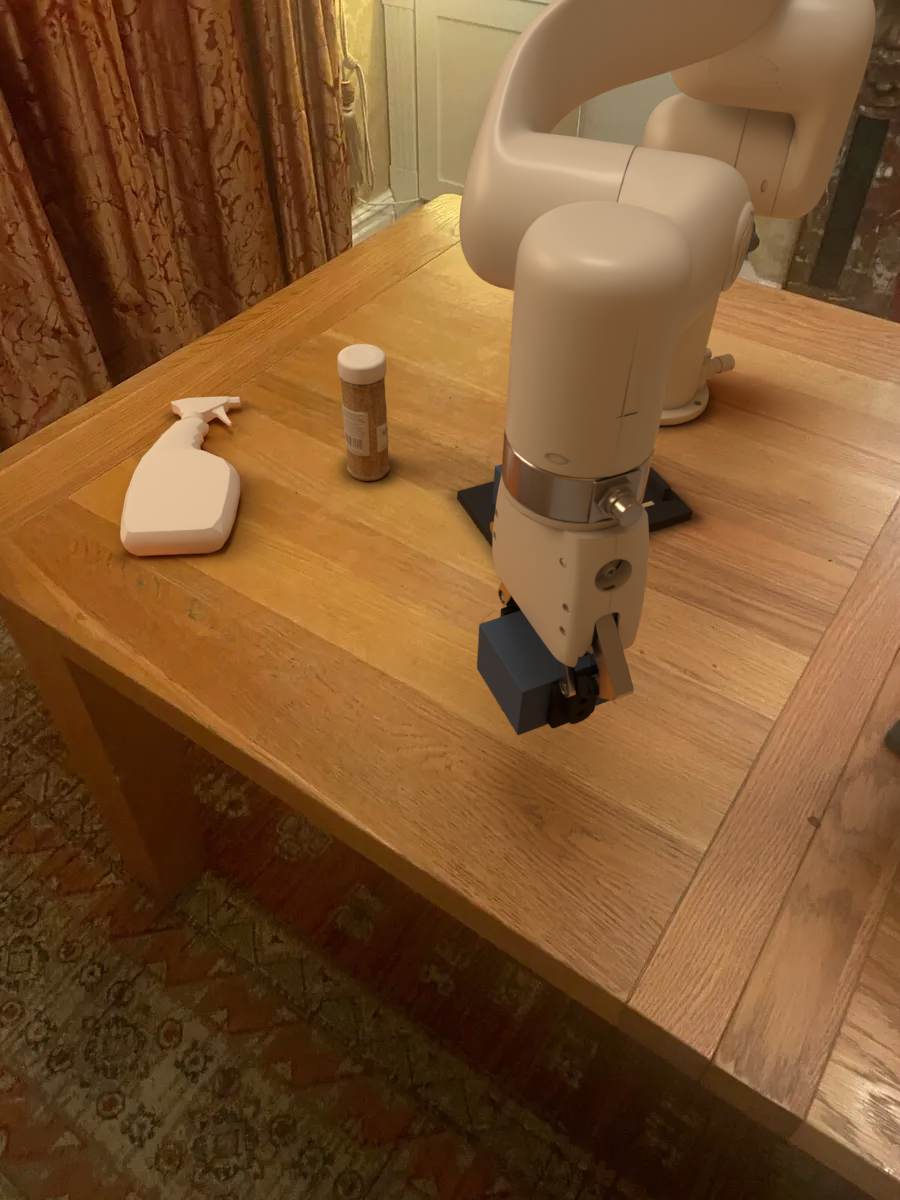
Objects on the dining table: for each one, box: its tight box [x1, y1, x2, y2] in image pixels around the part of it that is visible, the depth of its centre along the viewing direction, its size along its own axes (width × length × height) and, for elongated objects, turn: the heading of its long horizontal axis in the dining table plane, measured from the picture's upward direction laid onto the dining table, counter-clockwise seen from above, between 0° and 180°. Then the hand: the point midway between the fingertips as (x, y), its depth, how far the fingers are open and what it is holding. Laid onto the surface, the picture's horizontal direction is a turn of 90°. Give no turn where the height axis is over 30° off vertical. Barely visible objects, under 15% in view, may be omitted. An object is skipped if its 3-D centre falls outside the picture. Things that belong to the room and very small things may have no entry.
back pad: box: [476, 610, 611, 736], centre depth 58 cm, size 7×6×4 cm
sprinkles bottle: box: [336, 343, 391, 482], centre depth 89 cm, size 5×5×13 cm
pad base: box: [457, 463, 694, 547], centre depth 88 cm, size 20×12×6 cm, turn 114°
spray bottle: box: [119, 395, 242, 557], centre depth 92 cm, size 3×11×24 cm
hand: (544, 678), depth 59 cm, fingers closed on back pad, 6 cm apart
